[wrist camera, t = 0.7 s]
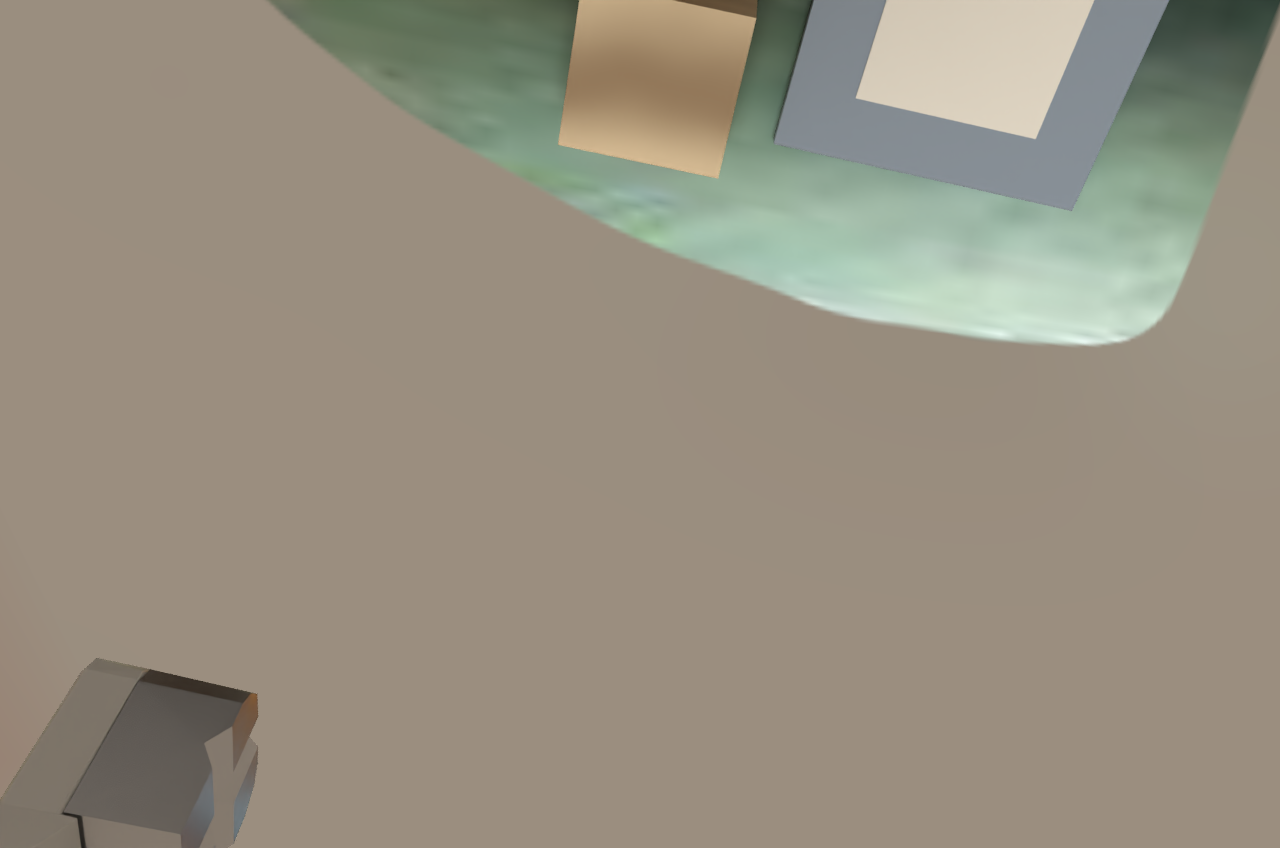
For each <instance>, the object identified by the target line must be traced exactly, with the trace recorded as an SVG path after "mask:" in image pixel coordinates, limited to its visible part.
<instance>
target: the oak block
mask: <svg viewBox="0 0 1280 848" xmlns="http://www.w3.org/2000/svg"><path fill="white" fill-rule="evenodd" d="M756 16H757V0H579V6H578V13H577V20H576V27H575V33H574V40H573V47H572V54H571V60H570V67H569V74H568V81H567V87H566V94H565V101H564V108H563V114H562V121H561V128H560V135H559V141H558V145H561V146H566V147H571V148H576V149H580V150H585V151H590V152H595V153H599V154H604V155H609V156H614V157H618V158H623V159H628V160H633V161H637V162H642V163H647V164H652V165H656V166H661V167H666V168H671V169H675V170H680V171H685V172H690V173H694V174H699V175H704V176H709V177H713V178H718V176H719V172H720V168H721V164H722V160H723V155H724V151H725V147H726V143H727V139H728V135H729V130H730V126H731V122H732V118H733V114H734V110H735V105H736V101H737V97H738V93H739V89H740V85H741V80H742V76H743V72H744V68H745V64H746V59H747V55H748V51H749V47H750V43H751V39H752V34H753V30H754V26H755V22H756Z"/></svg>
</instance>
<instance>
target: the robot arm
mask: <svg viewBox="0 0 1280 848" xmlns="http://www.w3.org/2000/svg"><path fill="white" fill-rule="evenodd" d="M257 718H258V699H257V694H256V693H251V692H247V691H243V690H238V689H234V688H229V687H225V686H221V685H216V684H211V683H208V682H203V681H198V680H194V679H190V678H185V677H181V676H177V675H173V674H168V673H164V672H160V671H155V670H151V669H147V668H142V667H137V666H132V665H128V664H123V663H118V662H114V661H108V660H104V659H99V658H96V659H95V660H94V661H93V662H92V663H91V664H89V666H87V667H86V668H85V669H84V670H83V671H82V672H81V673H80V675H79V676H78V678H77V679H76V681H75V682H74V684H73V686H72V687H71V689H70V690H69V692H68V694H67V695H66V697H65V698H64V700H63V701H62V703H61V704H60V706H59V708H58V709H57V711H56V712H55V714H54V715H53V717H52V719H51V720H50V722H49V723H48V725H47V726H46V728H45V730H44V731H43V733H42V735H41V736H40V738H39V739H38V741H37V742H36V744H35V745H34V747H33V748H32V750H31V752H30V753H29V755H28V756H27V758H26V760H25V761H24V763H23V764H22V766H21V767H20V769H19V771H18V772H17V774H16V776H15V777H14V778H13V780H12V782H11V783H10V785H9V786H8V788H7V789H6V791H5V793H4V794H3V796H2V797H1V799H0V848H228V847H229V846H231V845H232V844H234V841H235V839H236V837H237V834H238V832H239V829H240V827H241V824H242V822H243V820H244V817H245V814H246V811H247V808H248V804H249V801H250V797H251V794H252V791H253V787H254V783H255V776H256V770H257V764H258V746H257V745H256V744H255V743H254V742H253V741H252V739H251V738H250V737H249V736H250V734H251V732H252V729H253V727H254V725H255V723H256V720H257Z"/></svg>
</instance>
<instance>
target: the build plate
mask: <svg viewBox="0 0 1280 848" xmlns="http://www.w3.org/2000/svg"><path fill="white" fill-rule="evenodd" d="M1168 1H1169V0H812V3H811V6H810V10H809V13H808V17H807V21H806V24H805V28H804V31H803V35H802V38H801V42H800V46H799V49H798V53H797V56H796V60H795V64H794V67H793V71H792V74H791V78H790V81H789V85H788V89H787V92H786V96H785V99H784V103H783V106H782V110H781V114H780V117H779V121H778V124H777V128H776V131H775V135H774V144H777V145H781V146H786V147H790V148H795V149H799V150H804V151H808V152H812V153H817V154H821V155H826V156H830V157H835V158H839V159H843V160H848V161H852V162H857V163H861V164H866V165H870V166H875V167H879V168H883V169H888V170H892V171H897V172H901V173H906V174H910V175H915V176H919V177H923V178H928V179H932V180H937V181H941V182H946V183H950V184H954V185H959V186H963V187H968V188H972V189H977V190H981V191H986V192H990V193H994V194H999V195H1003V196H1008V197H1012V198H1017V199H1021V200H1025V201H1030V202H1034V203H1039V204H1043V205H1048V206H1052V207H1057V208H1061V209H1065V210H1070V211H1072V210H1073V208H1074V205H1075V203H1076V201H1077V199H1078V197H1079V195H1080V192H1081V190H1082V188H1083V186H1084V184H1085V182H1086V179H1087V177H1088V175H1089V173H1090V171H1091V169H1092V166H1093V164H1094V162H1095V160H1096V158H1097V156H1098V153H1099V151H1100V149H1101V147H1102V145H1103V142H1104V140H1105V138H1106V136H1107V134H1108V132H1109V129H1110V127H1111V125H1112V123H1113V121H1114V119H1115V116H1116V114H1117V112H1118V110H1119V108H1120V106H1121V103H1122V101H1123V99H1124V97H1125V95H1126V93H1127V90H1128V88H1129V86H1130V84H1131V82H1132V80H1133V77H1134V75H1135V73H1136V71H1137V69H1138V66H1139V64H1140V62H1141V60H1142V58H1143V56H1144V53H1145V51H1146V49H1147V47H1148V45H1149V43H1150V40H1151V38H1152V36H1153V34H1154V32H1155V30H1156V27H1157V25H1158V23H1159V21H1160V19H1161V17H1162V14H1163V12H1164V10H1165V8H1166V6H1167V4H1168Z"/></svg>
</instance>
